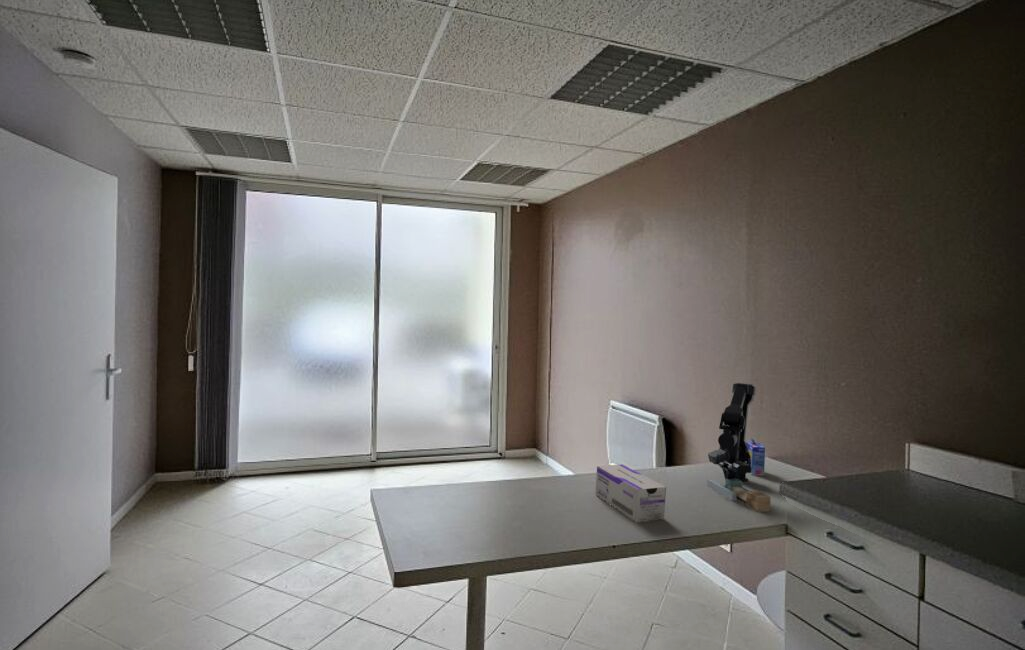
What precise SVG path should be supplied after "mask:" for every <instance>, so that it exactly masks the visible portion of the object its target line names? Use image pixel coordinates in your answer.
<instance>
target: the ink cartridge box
mask: <svg viewBox="0 0 1025 650" xmlns="http://www.w3.org/2000/svg"><path fill="white" fill-rule="evenodd" d="M750 440H751V441H745V442H746V444H747V446H748V452H749V453H750V456H751V467H752V473H749V474H750V475H752V476H762V477H764V476H765V470H766V469H765V463H766V447H765V446H764V445H762V444H761V443H759V442H758V441H755V440H754V439H753V438H750ZM745 462H747V461H745Z"/></svg>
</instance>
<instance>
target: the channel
mask: <svg viewBox="0 0 1025 650" xmlns="http://www.w3.org/2000/svg"><path fill="white" fill-rule="evenodd" d="M706 483H707V485H706V486H707V487H708V488H710V489H712V490H713V491H715V492H717V493H719V494H721V495H722V496H724V497H725V498H727V499H729V500H730V501H733V502H736V501H737V494H736V493H734V492H732V491H731V490H729V489H727V488H725V485H721V484H720V483H718V482H716V481H714V480H712V479H707V481H706ZM742 489H744V490H746V491H753V490H752V489H749V488H747V487H746V486H744V485H742Z"/></svg>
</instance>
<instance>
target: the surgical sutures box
mask: <svg viewBox="0 0 1025 650" xmlns="http://www.w3.org/2000/svg"><path fill="white" fill-rule="evenodd" d="M595 479H596V480H595V494H596V495H597V496H596V495H595V496H596V497H598V496H599V497H600V498H599V497H598V498H599V499H601V500H602V499H603V500H602V501H604V500H605V501H606V503H607V502H608V503H609V504H611V505H612V506H614V507H615V508H617V509H618V510H619V512H620V511H621V512H622V514H623V513H624V514H625V516H626V517H627V516H628V517H627V518H629V519H630V518H631V519H630V520H632V521H633V520H634V522H635V523H641V522H640V521H644V522H650V521H649V520H653V521H659V519H662V520H665V510H666V509H665V507H666V495H667V494H666V493H667V492H666V491H667V486H664V485H663V484H661V483H659V482H657V481H655V480H653V479H652V478H649V477H647V476H645V475H643V474H642V473H641V472H638V471H636V470H634V469H633V468H630V467H628V466H626V465H624V464H622V463H621V464H609V465H608V464H607V465H597V466H596V478H595ZM605 501H604V502H605ZM608 503H607V504H608ZM609 504H608V505H609ZM611 505H610V506H611ZM612 506H611V507H612ZM614 507H613V508H614ZM615 508H614V509H615ZM617 509H616V510H617ZM618 510H617V511H618ZM621 512H620V513H621ZM624 514H623V515H624Z"/></svg>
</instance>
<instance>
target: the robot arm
mask: <svg viewBox="0 0 1025 650" xmlns="http://www.w3.org/2000/svg"><path fill="white" fill-rule="evenodd" d="M731 390H732V391H731V392H732V393H733V394H732V397H731V400H730V404H729V405H727V406H726V407H725V408H724V410H723V412H722V413H721V416H720V421H719V425H718V426H719V427H718V429H720V430H722V433H721V434H720V435H719V436H718V439H717V441H718V445H719V449H716V450H713V451H710V452H708V453H707V456H708V461H709V462H710V463H712V464H713V465H717V466H719V468H720V469H722V472H723V475H724V480H725V479H739V480H741V481H742V482H743V481H749V478H747V477H746V476H747V474H750V473H752V467H751V456H750V453H749V452H748V446H747V444H746V442H747V441H746V435H747V434H746V433H747V425H748V424H747V423H748V415H749V413H748V412H749V406H750V405H751V404H752V402H753V401H754V397H756V394H757V393H756V392H757V387H756V386H754V384H752V383H742V382H736V383H732V389H731ZM745 461H747V462H745Z"/></svg>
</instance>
